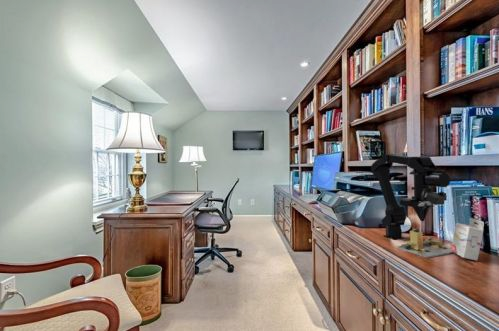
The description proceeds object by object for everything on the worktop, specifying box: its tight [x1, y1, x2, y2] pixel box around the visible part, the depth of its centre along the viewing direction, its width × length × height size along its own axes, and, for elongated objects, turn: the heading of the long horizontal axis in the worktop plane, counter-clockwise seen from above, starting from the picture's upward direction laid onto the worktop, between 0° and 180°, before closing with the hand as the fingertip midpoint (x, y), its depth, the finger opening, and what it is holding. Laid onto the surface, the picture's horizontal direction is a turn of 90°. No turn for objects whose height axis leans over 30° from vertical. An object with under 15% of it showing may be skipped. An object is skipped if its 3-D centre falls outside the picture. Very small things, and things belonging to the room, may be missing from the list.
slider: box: [404, 228, 425, 251], centre depth 105 cm, size 8×3×8 cm, turn 17°
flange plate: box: [397, 244, 455, 259], centre depth 105 cm, size 13×19×1 cm
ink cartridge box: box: [450, 217, 485, 262], centre depth 96 cm, size 9×5×15 cm, turn 168°
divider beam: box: [401, 237, 445, 249], centre depth 107 cm, size 8×18×3 cm, turn 107°
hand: (422, 220), depth 109 cm, fingers closed
